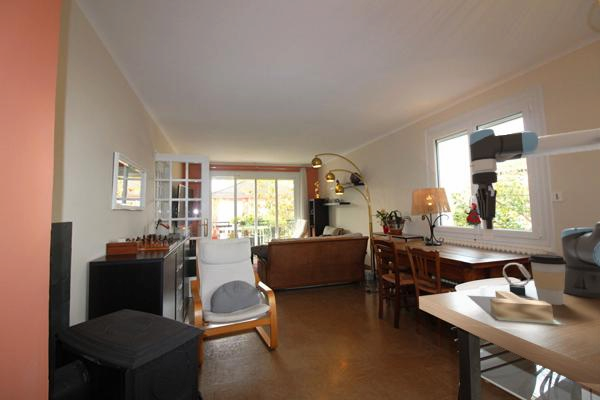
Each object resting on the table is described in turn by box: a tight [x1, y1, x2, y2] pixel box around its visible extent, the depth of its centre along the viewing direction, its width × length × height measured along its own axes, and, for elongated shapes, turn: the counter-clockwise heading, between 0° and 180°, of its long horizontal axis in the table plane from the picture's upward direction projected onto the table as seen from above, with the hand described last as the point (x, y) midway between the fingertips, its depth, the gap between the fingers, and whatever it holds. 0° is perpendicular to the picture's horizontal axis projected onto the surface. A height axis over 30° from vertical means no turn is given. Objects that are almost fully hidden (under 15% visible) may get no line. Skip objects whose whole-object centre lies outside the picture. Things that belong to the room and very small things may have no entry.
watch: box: [502, 262, 532, 297], centre depth 98 cm, size 6×8×11 cm
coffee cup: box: [527, 253, 567, 306], centre depth 89 cm, size 9×9×15 cm
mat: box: [467, 295, 569, 326], centre depth 83 cm, size 16×24×1 cm, turn 164°
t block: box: [490, 290, 554, 321], centre depth 81 cm, size 13×13×4 cm
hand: (488, 238), depth 97 cm, fingers closed
